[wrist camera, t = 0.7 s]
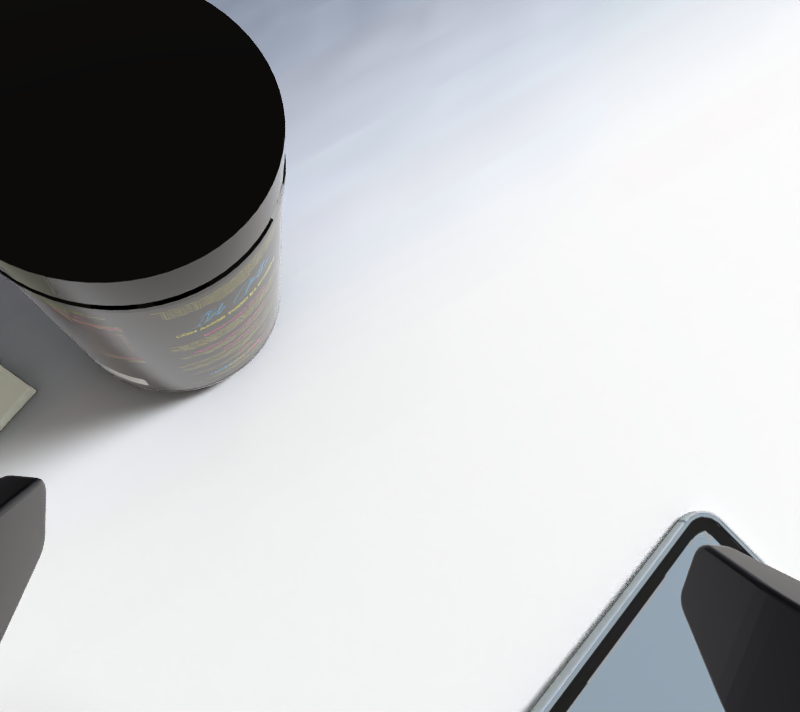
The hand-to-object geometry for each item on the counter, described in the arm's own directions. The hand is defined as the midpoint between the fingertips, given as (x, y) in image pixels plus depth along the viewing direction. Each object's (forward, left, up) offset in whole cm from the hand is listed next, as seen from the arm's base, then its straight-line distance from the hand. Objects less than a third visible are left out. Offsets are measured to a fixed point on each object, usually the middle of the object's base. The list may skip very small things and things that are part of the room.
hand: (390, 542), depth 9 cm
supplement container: (+4, +9, -13) cm, 16 cm away
